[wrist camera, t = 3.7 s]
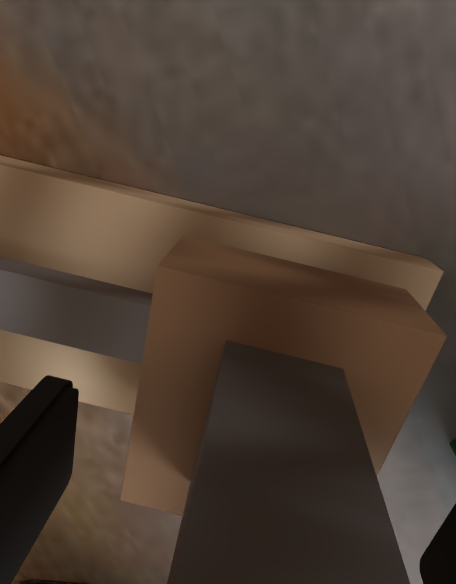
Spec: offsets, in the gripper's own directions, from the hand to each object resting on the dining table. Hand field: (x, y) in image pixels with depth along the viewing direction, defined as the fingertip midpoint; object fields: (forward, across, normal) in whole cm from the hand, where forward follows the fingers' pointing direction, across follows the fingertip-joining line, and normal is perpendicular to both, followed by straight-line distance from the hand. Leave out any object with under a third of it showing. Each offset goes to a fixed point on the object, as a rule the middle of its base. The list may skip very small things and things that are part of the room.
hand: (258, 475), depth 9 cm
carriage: (+5, 0, 0) cm, 5 cm away
